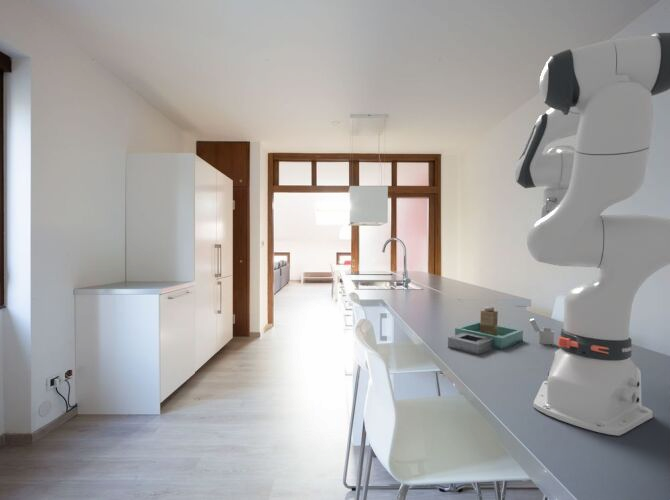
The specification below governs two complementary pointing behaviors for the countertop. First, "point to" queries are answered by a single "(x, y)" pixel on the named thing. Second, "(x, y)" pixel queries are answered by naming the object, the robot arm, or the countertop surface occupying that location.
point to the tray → (502, 339)
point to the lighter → (543, 333)
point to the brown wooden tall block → (489, 321)
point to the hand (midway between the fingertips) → (557, 243)
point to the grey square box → (471, 343)
